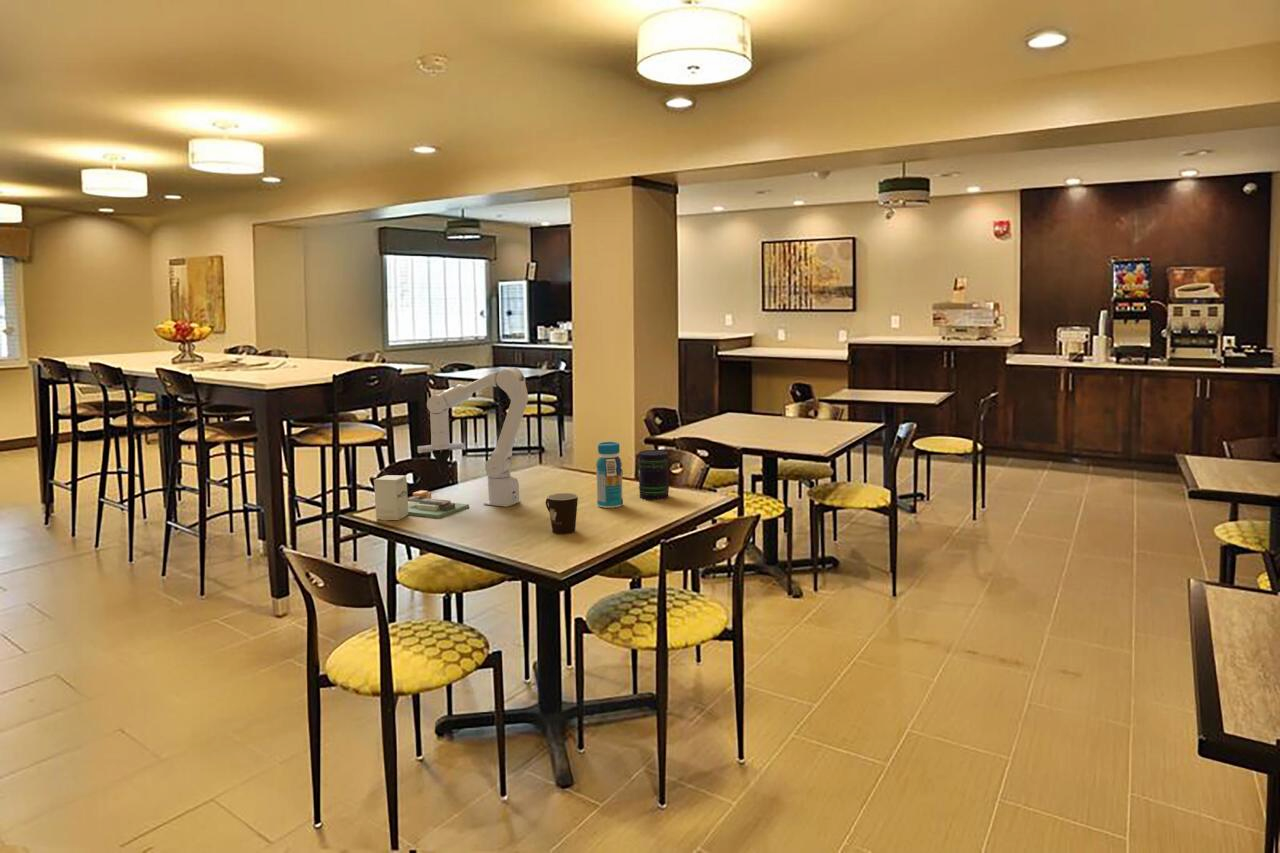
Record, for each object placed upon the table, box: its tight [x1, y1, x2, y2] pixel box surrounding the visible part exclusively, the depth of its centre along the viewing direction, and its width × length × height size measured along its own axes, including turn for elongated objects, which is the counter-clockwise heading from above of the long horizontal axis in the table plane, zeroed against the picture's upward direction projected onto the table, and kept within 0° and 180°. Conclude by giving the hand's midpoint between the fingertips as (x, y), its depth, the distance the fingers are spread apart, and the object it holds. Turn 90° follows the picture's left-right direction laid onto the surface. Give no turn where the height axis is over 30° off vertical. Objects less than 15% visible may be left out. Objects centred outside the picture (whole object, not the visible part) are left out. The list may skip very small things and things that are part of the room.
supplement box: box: [373, 474, 409, 521], centre depth 259 cm, size 7×7×13 cm
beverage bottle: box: [595, 441, 624, 509], centre depth 268 cm, size 8×8×20 cm
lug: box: [412, 489, 432, 499], centre depth 273 cm, size 3×5×4 cm, turn 154°
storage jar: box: [638, 449, 670, 501], centre depth 280 cm, size 10×10×15 cm
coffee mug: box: [545, 492, 579, 535], centre depth 241 cm, size 12×9×10 cm
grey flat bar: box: [408, 496, 452, 505], centre depth 268 cm, size 14×4×1 cm, turn 64°
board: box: [408, 502, 470, 519], centre depth 268 cm, size 18×15×2 cm
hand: (442, 472), depth 277 cm, fingers closed
